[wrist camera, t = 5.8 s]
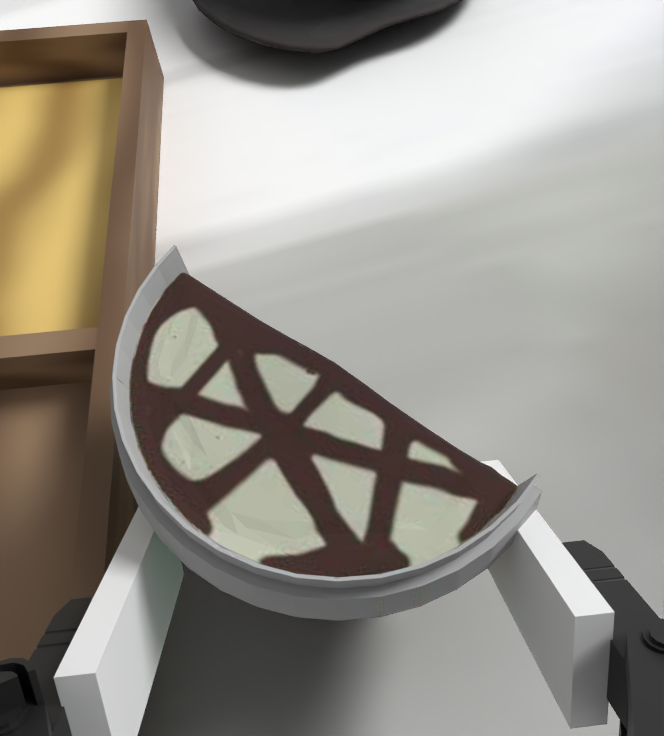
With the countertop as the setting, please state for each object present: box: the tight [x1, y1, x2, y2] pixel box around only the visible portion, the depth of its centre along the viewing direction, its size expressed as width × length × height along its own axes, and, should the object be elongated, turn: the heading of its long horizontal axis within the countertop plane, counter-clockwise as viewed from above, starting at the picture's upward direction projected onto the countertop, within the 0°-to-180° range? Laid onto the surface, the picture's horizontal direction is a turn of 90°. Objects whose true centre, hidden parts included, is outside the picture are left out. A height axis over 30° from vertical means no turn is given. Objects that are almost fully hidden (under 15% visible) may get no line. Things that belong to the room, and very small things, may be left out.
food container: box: [110, 245, 542, 621], centre depth 18 cm, size 12×6×10 cm, turn 54°
